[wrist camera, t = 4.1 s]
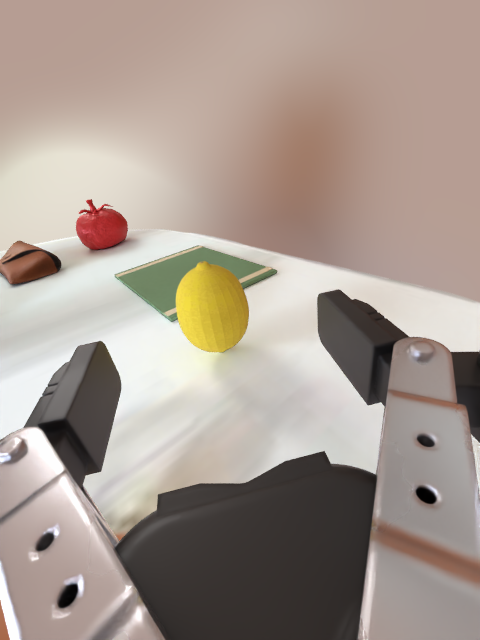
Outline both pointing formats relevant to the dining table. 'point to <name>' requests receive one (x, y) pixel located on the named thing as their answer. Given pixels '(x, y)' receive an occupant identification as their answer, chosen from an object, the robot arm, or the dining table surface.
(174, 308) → the cloth
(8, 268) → the sunglasses case
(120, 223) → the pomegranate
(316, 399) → the dining table surface
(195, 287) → the lemon
